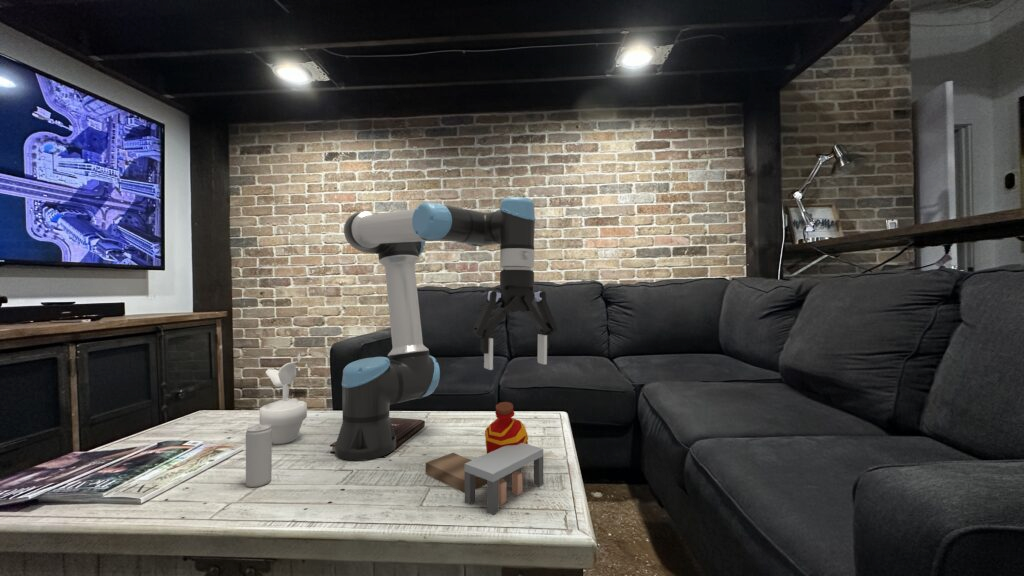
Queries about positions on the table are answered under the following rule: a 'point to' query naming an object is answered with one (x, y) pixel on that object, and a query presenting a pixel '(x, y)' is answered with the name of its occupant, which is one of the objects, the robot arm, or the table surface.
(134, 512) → the table surface
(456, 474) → the panel
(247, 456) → the beverage can
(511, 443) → the potion bottle
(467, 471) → the shelf
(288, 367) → the potted plant
